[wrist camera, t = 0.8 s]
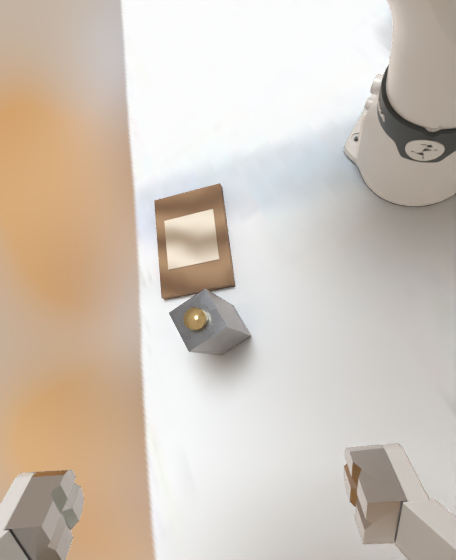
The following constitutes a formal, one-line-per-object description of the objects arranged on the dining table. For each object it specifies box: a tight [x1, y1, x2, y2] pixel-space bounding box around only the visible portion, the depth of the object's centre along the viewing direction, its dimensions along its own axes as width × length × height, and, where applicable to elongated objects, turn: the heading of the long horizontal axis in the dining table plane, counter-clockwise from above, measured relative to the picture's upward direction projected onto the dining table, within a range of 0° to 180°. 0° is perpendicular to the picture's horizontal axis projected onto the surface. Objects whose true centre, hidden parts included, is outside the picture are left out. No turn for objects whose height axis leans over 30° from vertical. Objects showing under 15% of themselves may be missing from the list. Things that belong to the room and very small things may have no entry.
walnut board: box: [154, 184, 235, 299], centre depth 54 cm, size 16×11×1 cm
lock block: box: [169, 289, 251, 355], centre depth 44 cm, size 5×5×13 cm
